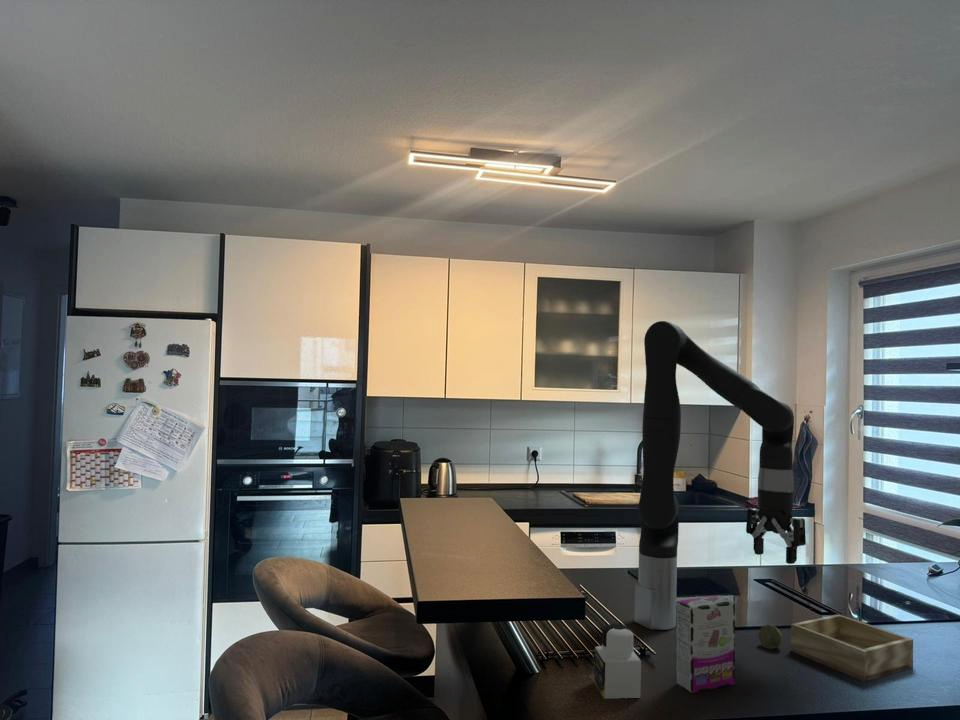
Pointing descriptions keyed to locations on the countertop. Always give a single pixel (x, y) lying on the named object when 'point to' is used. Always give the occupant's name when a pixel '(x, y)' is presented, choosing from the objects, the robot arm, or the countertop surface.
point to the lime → (770, 636)
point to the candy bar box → (705, 643)
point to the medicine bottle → (617, 664)
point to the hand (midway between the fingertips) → (774, 558)
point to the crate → (852, 647)
